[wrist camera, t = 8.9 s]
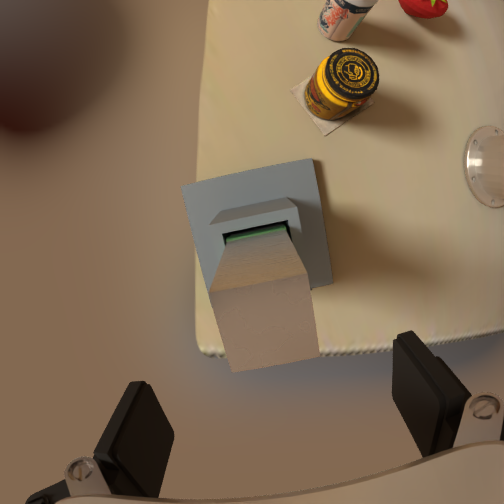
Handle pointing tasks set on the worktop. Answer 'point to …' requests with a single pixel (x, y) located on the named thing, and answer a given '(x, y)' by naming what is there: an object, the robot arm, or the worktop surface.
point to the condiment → (338, 88)
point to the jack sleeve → (260, 214)
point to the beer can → (342, 17)
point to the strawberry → (424, 7)
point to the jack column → (263, 300)
